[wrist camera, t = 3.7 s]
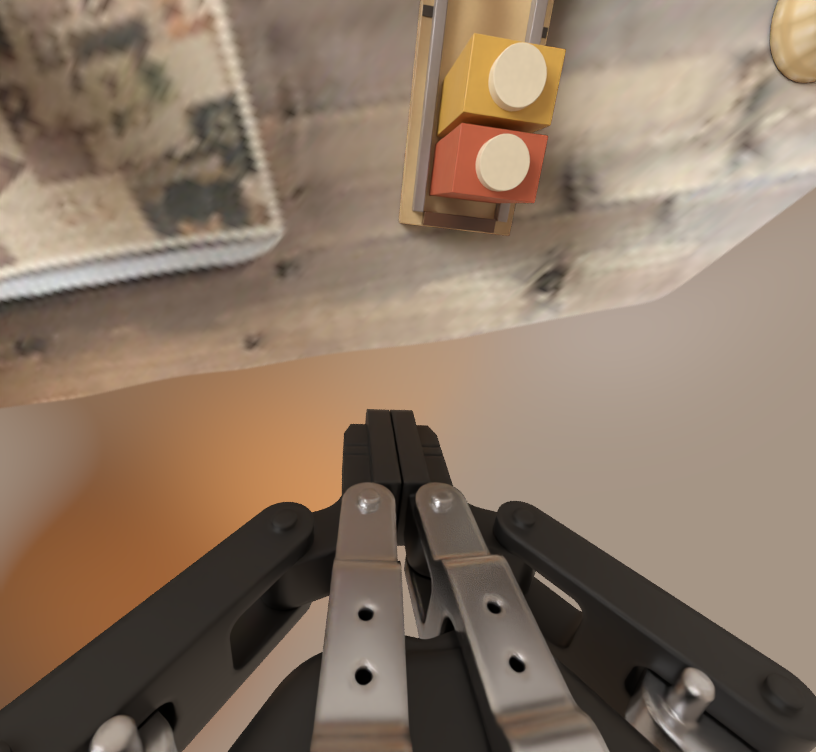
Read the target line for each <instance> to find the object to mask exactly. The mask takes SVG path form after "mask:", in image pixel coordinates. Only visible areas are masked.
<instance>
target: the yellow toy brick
mask: <svg viewBox="0 0 816 752" xmlns="http://www.w3.org/2000/svg"><path fill="white" fill-rule="evenodd" d="M565 52H566V50H565V49H560V48H555V47H549V46H544V45H538V44H532V43H527V42H521V41H516V40H510V39H505V38H499V37H494V36H488V35H483V34H477V33H474V34H473V35H472V37H471V39H470V40H469V42H468V43H467V45H466V46H465V48H464V49H463V51H462V52H461V54H460V55H459V57H458V58H457V60H456V62H455V63H454V65H453V66H452V68H451V69H450V71H449V72H448V74H447V75H446V77H445V78H444V80H443V85H442V93H441V101H440V109H439V118H438V126H437V134H436V136H437V137H445V136H446V135H448V134H449V133H450V132H451V131H452V130H454V129H455V128H456V127H457V126H459V125H460V124H461V123H466V124H473V125H480V126H486V127H493V128H500V129H506V130H513V131H519V132H526V133H533V132H535V131H538V130H540V129H542V128H545V127H547V126H550V125H551V120H552V115H553V110H554V106H555V101H556V96H557V91H558V86H559V81H560V76H561V71H562V67H563V62H564V57H565Z"/></svg>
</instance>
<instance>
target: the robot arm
mask: <svg viewBox="0 0 816 752" xmlns="http://www.w3.org/2000/svg"><path fill="white" fill-rule="evenodd" d="M403 545H404V546H405V549H406V559H405V567H404V571H405V576H406V580H407V584H408V589H409V593H410V598H411V602H412V606H413V611H414V616H415V620H416V624H417V628H418V634H419V638H415V637H410V636H405V635H404V614H403V593H402V572H401V563H400V561H398V559H397V546H403ZM536 571H537V572H538V573H539V574H541V575H542V576H543V577H545V578H546V579H547V580H549V581H550V582H551V583H553V584H554V585H555V586H557V587H558V588H559V589H561V590H562V591H563V592H565V593H566V594H567V595H569V596H570V597H572V598H573V599H574V600H575V601H576V602H577V603H578V604H579V606H580V608H581V610H582V612H581V611H579V610H577V609H576V608H574V607H573V606H572V605H571V604H569V603H568V602H567V601H565V600H564V599H563V598H561V597H560V596H559V595H557V594H556V593H555V592H553V591H552V590H550V588H548V587H547V586H546V585H544V584H543V583H542V582H540V581H539V580H538V579H536V578H535V577H534V575H535V572H536ZM326 596H329V604H328V612H327V621H326V629H325V638H324V646H323V652H321V653H319V654H317V655H315V656H313V657H311V658H310V659H308V660H307V661H305V662H303V663H302V664H301V665H299V666H298V667H297V668H296V669H294V670H293V671H292V672H291V673H290V674H289V675H288V676H287V677H286V678H285V679H284V680H283V681H282V682H281V683H280V684H279V686H278V687H277V688H276V689H275V691H274V692H273V693H272V695H271V696H270V697H269V698H268V700H267V701H266V702H265V704H264V705H263V706H262V708H261V709H260V710H259V711H258V713H257V714H256V715H255V717H254V718H253V719H252V721H251V722H250V723H249V725H248V726H247V727H246V729H245V730H244V731H243V732H242V734H241V735H240V736H239V738H238V739H237V740H236V741H235V743H234V744H233V745H232V747H231V748H230V749H229V751H228V752H810V751H811V750H812V749H813V748H815V747H816V696H815V695H814V694H813V693H812V691H811V690H810V689H809V688H807V686H806V685H805V684H804V683H803V682H802V681H800V680H799V679H798V678H797V677H796V676H795V675H793V674H792V673H791V672H789V671H788V670H786V669H785V668H783V667H782V666H780V665H779V664H777V663H776V662H774V661H773V660H771V659H770V658H768V657H766V656H765V655H763V654H762V653H760V652H759V651H757V650H755V649H754V648H753V647H751V646H750V645H748V644H746V643H745V642H743V641H742V640H740V639H738V638H737V637H736V636H734V635H733V634H731V633H729V632H728V631H726V630H725V629H723V628H722V627H720V626H719V625H717V624H716V623H714V622H712V621H711V620H709V619H708V618H706V617H705V616H703V615H702V614H700V613H699V612H697V611H695V610H694V609H692V608H691V607H689V606H688V605H686V604H685V603H683V602H681V601H680V600H678V599H677V598H675V597H674V596H672V595H671V594H669V593H668V592H666V591H664V590H663V589H661V588H660V587H658V586H657V585H655V584H654V583H652V582H651V581H649V580H648V579H646V578H644V577H643V576H641V575H640V574H638V573H637V572H635V571H634V570H632V569H631V568H629V567H627V566H626V565H624V564H623V563H621V562H620V561H618V560H617V559H615V558H614V557H612V556H610V555H609V554H607V553H606V552H604V551H603V550H601V549H600V548H598V547H597V546H595V545H593V544H592V543H590V542H589V541H587V540H586V539H584V538H583V537H581V536H580V535H578V534H576V533H575V532H573V531H572V530H570V529H569V528H567V527H566V526H564V525H563V524H561V523H559V522H558V521H556V520H555V519H553V518H552V517H550V516H549V515H547V514H546V513H544V512H542V511H541V510H539V509H538V508H536V507H534V506H533V505H530V504H528V503H525V502H521V501H510V502H506V503H504V504H502V505H501V506H500V507H499V509H498V512H494V511H490V510H485V509H482V508H478V507H475V506H473V505H470V504H469V503H467V501H466V499H465V497H464V495H463V494H462V493H461V492H460V491H459V490H458V489H456V488H455V487H453V485H452V481H451V479H450V475H449V472H448V469H447V466H446V463H445V460H444V457H443V454H442V450H441V448H440V444H439V441H438V438H437V435H436V434H435V433H434V432H433V431H432V430H431V429H430V428H429V427H428V426H422V425H416V422H415V418H414V414H413V411H412V410H390V412H389V410H374V409H367V412H366V423H365V424H350V426H349V427H348V429H347V430H346V431H345V433H344V446H343V465H342V496H341V497H340V499H339V500H338V501H337V502H336V503H335V504H333V505H332V506H330V507H328V508H325V509H322V510H319V511H315V512H311V511H310V510H309V509H308V508H307V507H305V506H304V505H302V504H298V503H294V502H282V503H277V504H274V505H271V506H269V507H267V508H266V509H264V510H263V511H262V512H260V513H259V514H258V515H256V516H255V517H254V518H252V519H251V520H250V521H248V522H247V523H246V524H245V525H243V526H242V527H241V528H239V529H238V530H237V531H235V532H234V533H233V534H231V535H230V536H229V537H227V538H226V539H225V540H223V541H222V542H221V543H220V544H218V545H217V546H216V547H214V548H213V549H212V550H210V551H209V552H208V553H206V554H205V555H204V556H203V557H201V558H200V559H199V560H197V561H196V562H195V563H193V564H192V565H191V566H189V567H188V568H187V569H185V570H184V571H183V572H181V573H180V574H179V575H177V576H176V577H175V578H174V579H172V580H171V581H170V582H168V583H167V584H166V585H165V586H163V587H162V588H160V589H159V590H158V591H156V592H155V593H154V594H152V595H151V596H150V597H149V598H147V599H146V600H145V601H143V602H142V603H141V604H139V605H138V606H137V607H135V608H134V609H133V610H132V611H130V612H129V613H128V614H126V615H125V616H124V617H122V618H121V619H120V620H118V621H117V622H116V623H114V624H113V625H112V626H111V627H109V628H108V629H107V630H105V631H104V632H103V633H101V634H100V635H99V636H98V637H96V638H95V639H93V640H92V641H91V642H89V643H88V644H87V645H86V646H84V647H83V648H82V649H80V650H79V651H78V652H76V653H75V654H74V655H72V656H71V657H70V658H68V659H67V660H66V661H64V662H63V663H62V664H61V665H59V666H58V667H57V668H55V669H54V670H53V671H51V672H50V673H49V674H47V675H46V676H45V677H43V678H42V679H41V680H39V681H38V682H37V683H36V684H34V685H33V686H32V687H30V688H29V689H28V690H26V691H25V692H24V693H22V694H21V695H20V696H18V697H17V698H16V699H15V700H13V701H12V702H11V703H9V704H8V705H7V706H5V707H4V708H3V709H1V710H0V752H182V751H183V750H184V749H185V748H186V746H187V745H188V744H189V743H190V742H191V741H192V740H193V739H194V738H195V736H196V735H197V734H198V733H199V732H200V731H201V730H202V729H203V727H204V726H205V725H206V724H207V723H208V722H209V721H210V719H211V718H212V717H213V716H214V715H215V714H216V713H217V712H218V711H219V709H220V708H221V707H222V706H223V705H224V704H225V703H226V701H228V699H229V698H230V697H231V696H232V695H233V694H234V693H235V692H236V690H237V689H238V688H239V687H240V686H241V685H242V684H243V682H244V681H245V680H246V679H247V678H248V677H249V676H250V675H251V674H252V672H253V671H254V670H255V669H256V668H257V667H258V666H259V665H260V663H261V662H262V661H263V660H264V659H265V658H266V657H267V655H268V654H269V653H270V652H271V651H272V650H273V649H274V648H275V647H276V645H277V644H278V643H279V642H280V641H281V640H282V639H283V638H284V637H285V635H286V634H287V633H288V632H289V631H290V630H291V628H293V626H294V625H295V624H296V623H297V622H298V621H299V620H300V619H301V617H302V616H303V615H304V614H305V613H306V612H307V610H308V609H309V607H310V605H311V603H312V602H313V601H316V600H318V599H321V598H323V597H326Z"/></svg>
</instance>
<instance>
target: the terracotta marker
mask: <svg viewBox="0 0 816 752" xmlns="http://www.w3.org/2000/svg"><path fill="white" fill-rule="evenodd" d="M547 140H548V136H546V135H539V134H533V133H526V132H519V131H513V130H506V129H500V128H493V127H486V126H480V125H473V124H466V123H461V124H460V125H459V126H457V127H456V128H455V129H454V130H452V131H451V132H450V133H449V134H448V135H446V136H445V137H444V138H443V139H441V140H440V141H439V142H438V143H437V144H435V151H434V159H433V168H432V176H431V184H430V192H429V195H430V196H438V197H446V198H454V199H462V200H470V201H477V202H485V203H534V202H535V198H536V193H537V188H538V183H539V179H540V174H541V169H542V164H543V159H544V154H545V149H546V145H547Z"/></svg>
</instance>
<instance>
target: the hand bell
mask: <svg viewBox="0 0 816 752" xmlns="http://www.w3.org/2000/svg"><path fill="white" fill-rule="evenodd" d="M770 46H771V53H772V56H773V60H774V62H775V64H776V66H777V68H778V69H779V70H780V71H781V72H782V73H783V75H784V76H786V77H787V78H789V79H791V80H793V81H795V82H803V83H808V82H814V81H816V0H778V3H777V5H776V8H775V11H774V14H773V18H772V24H771V32H770Z"/></svg>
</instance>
